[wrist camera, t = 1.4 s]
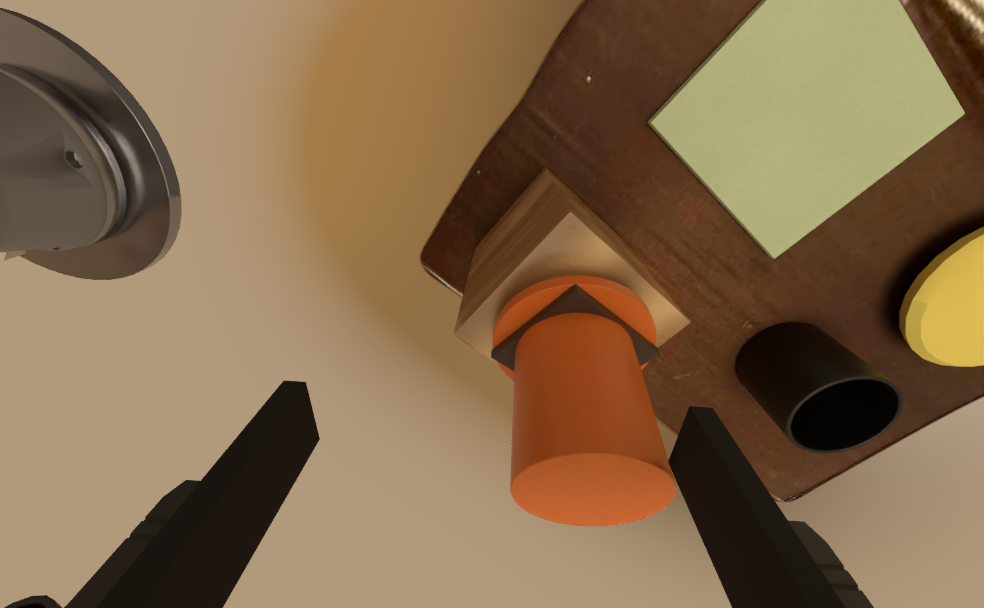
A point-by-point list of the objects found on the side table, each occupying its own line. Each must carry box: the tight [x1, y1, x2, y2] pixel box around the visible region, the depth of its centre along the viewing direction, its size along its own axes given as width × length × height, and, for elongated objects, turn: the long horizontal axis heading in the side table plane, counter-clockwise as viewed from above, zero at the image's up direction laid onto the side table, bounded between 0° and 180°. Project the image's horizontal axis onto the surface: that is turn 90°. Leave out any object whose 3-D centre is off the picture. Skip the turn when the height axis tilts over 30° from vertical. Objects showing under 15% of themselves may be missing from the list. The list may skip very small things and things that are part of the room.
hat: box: [491, 275, 676, 526], centre depth 18 cm, size 9×9×9 cm
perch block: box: [454, 167, 691, 368], centre depth 29 cm, size 10×10×16 cm
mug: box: [737, 323, 904, 453], centre depth 38 cm, size 9×12×9 cm
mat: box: [647, 0, 965, 259], centre depth 30 cm, size 18×16×1 cm
